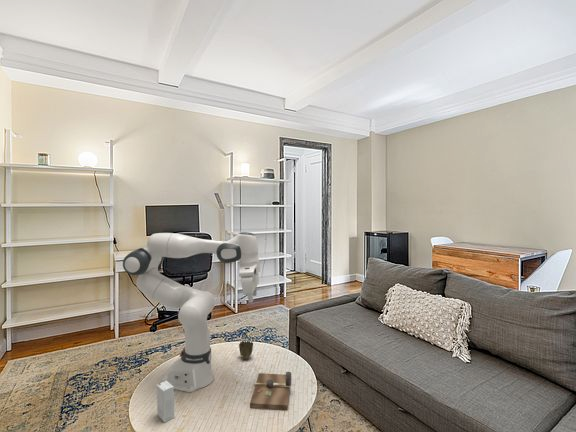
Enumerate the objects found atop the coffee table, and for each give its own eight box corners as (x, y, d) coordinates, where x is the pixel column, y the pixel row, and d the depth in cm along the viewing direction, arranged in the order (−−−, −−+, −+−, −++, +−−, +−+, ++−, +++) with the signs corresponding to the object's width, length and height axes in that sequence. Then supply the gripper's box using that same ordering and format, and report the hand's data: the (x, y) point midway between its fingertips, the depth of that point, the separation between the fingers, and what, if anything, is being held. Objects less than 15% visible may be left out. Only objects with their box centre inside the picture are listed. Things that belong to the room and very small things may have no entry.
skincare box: (175, 417, 117) (175, 386, 117) (163, 423, 114) (163, 391, 114) (167, 409, 121) (167, 379, 121) (156, 415, 118) (156, 384, 118)
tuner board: (249, 408, 123) (250, 402, 123) (258, 377, 145) (258, 372, 145) (287, 410, 123) (287, 404, 122) (290, 379, 144) (290, 374, 144)
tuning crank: (253, 387, 134) (253, 373, 134) (254, 383, 137) (254, 369, 137) (290, 389, 133) (291, 375, 133) (291, 385, 136) (291, 371, 136)
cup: (250, 362, 159) (250, 347, 158) (236, 361, 160) (236, 345, 160) (254, 355, 166) (255, 341, 166) (241, 354, 167) (241, 339, 167)
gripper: (247, 264, 149) (250, 292, 149) (238, 273, 129) (241, 306, 129) (260, 263, 149) (263, 291, 149) (253, 272, 128) (256, 305, 129)
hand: (253, 298), depth 139 cm, fingers open, 8 cm apart
